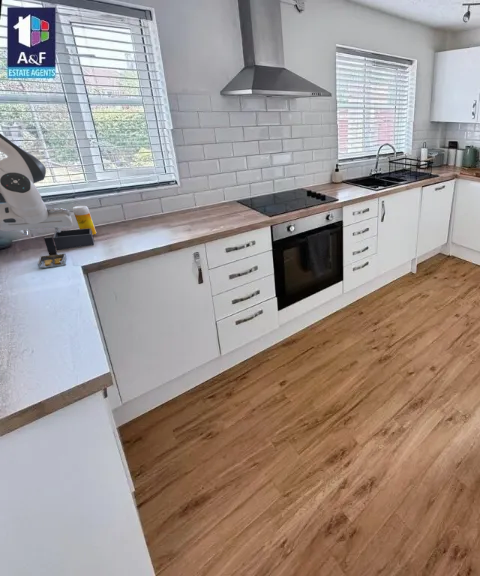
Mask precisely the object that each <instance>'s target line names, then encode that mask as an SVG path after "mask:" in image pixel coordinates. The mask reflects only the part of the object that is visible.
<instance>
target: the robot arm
mask: <svg viewBox="0 0 480 576" xmlns="http://www.w3.org/2000/svg"><path fill="white" fill-rule="evenodd" d="M0 152H1V153H2V154H4V155H5V156H7V157H5V158H3V159H0V202H1V203H0V231H2V232H17V233H20V234H21V235H23V236H29V232H28V231H31V230H42V229H54V232H55V231H56V232H61V231H62V229H63V228H69V227H72V226H73V225H74V221H73V218H72V216H71V215H72V213H71V211H70V210H69V209H65V208H47V205H46V203H45V202H44V201H43V199H42V195H41V193H40V191H39V189H38V188H37V185H36V183H38V182H41V181H43V180H44V181H45V178H46V173H47V167H46V166H45V165H44V164H43V162H42V161H40V160H39V159H38V158H37V157H36V156H34V155H33V154H31V153H30V152H29V151H26V150H25V149H23V148H22V147H20V146H19V145H17V144H16V143H14V142H13V141H12V140H10V139H9V138H8V137H7V136H5V135H4V134H2V133H1V132H0Z"/></svg>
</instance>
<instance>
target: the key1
mask: <svg viewBox="0 0 480 576" xmlns="http://www.w3.org/2000/svg"><path fill="white" fill-rule="evenodd" d="M44 262H45V265H50V264H51V262H52V260H45V261H44Z"/></svg>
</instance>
